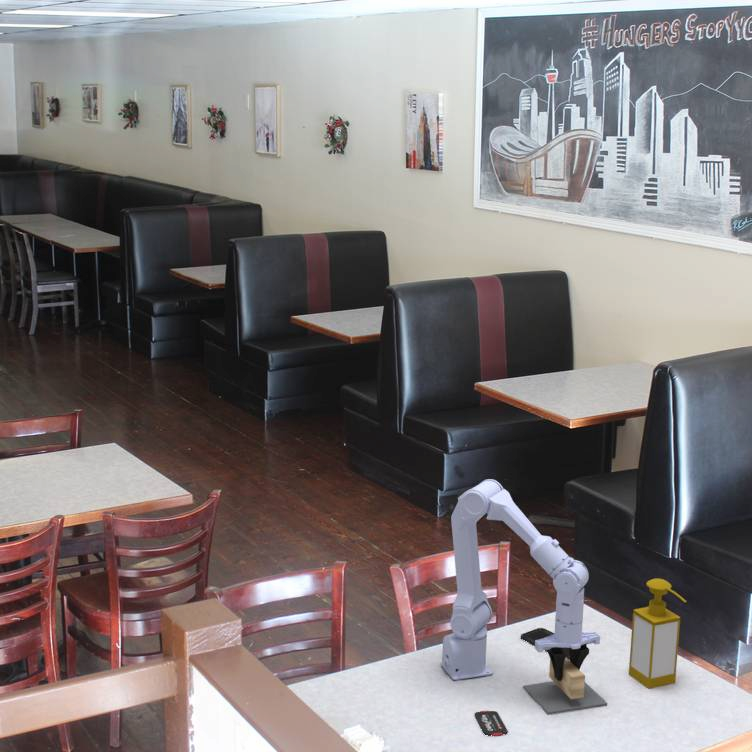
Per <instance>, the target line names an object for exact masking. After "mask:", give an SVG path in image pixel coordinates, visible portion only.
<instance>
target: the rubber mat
mask: <svg viewBox="0 0 752 752" xmlns="http://www.w3.org/2000/svg"><path fill="white" fill-rule="evenodd" d="M523 688H524V689H525V690H526V691H527V692H528V693H529V694H530V695H529V694H528V693H527V692H526V691H525V690H524V689H523ZM522 689H523V690H524V691H525V692H526V693H527V694H528V695H529V696H530V697H531V698H532V697H533V698H532V699H533V701H534V702H535V703H536V702H537V703H538V704H539V705H540V706H541V707H542V708H543V709H542V708H541V707H540V706H539V705H538V704H537V703H536V704H537V705H538V706H539V707H540V708H541V709H542V710H543V711H544V712H545V714H546V715H549V714H550V715H555V714H560V713H561V714H563V713H567V712H573V711H580V710H586V709H593V708H598V707H605V706H608V702H607V701H606V700H605V699H604V698H603V697H601V696H600V694H598V693H597V692H596V690H594V689H593V688H592V686H590V685H589V684H588V683H587V682H586V681H585V684H584V697H582V698H576V699H570V698H569V697H568V696H567V695H566V694H565V693H564V692H563V691H562V690H561V689H560V688H559V687H558V686H557V685H556V684H555V683H554V682H553V681H552V680H551V681H546V682H539V683H538V682H537V683H532V684H525V685H522Z"/></svg>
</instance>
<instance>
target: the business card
mask: <svg viewBox="0 0 752 752" xmlns="http://www.w3.org/2000/svg"><path fill="white" fill-rule="evenodd" d="M473 716H474V717H475V719H476V720H475V721H476V722H477V724H478V726H479V728H480V729H482V730H481V731H482V734H483V733H484V734H485V735H488V736H487V737H493V736H494V737H502V736H506V734H507V733H509V730H508V729H507V727H506V725H505V723H504V721H503V719H502V717H501V716H500V714H499V712H498V711H496V710H481V711H476V712H474V715H473ZM484 734H483V735H484ZM503 734H505V735H503ZM485 735H484V736H485ZM491 735H492V736H491ZM501 735H502V736H501ZM507 735H508V734H507Z"/></svg>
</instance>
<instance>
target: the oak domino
mask: <svg viewBox="0 0 752 752" xmlns="http://www.w3.org/2000/svg"><path fill="white" fill-rule="evenodd" d="M548 678H549V679H551V681H553V682H554V683H555V684H556V685H557V686H558V687H559V688H560V689H561V690H562V691H563V692H564V693H565V694H566V695H567V696H568V697H569V698H570V699H576V698H582V697H584V684H585V682H586V675H585V674H584V673H583V672H582V671H581V669H580V670H579V669H578V668H577V667H576V666H575V665H573V664H572V663H571V662H570V660H568V659H567V658H565V661H564V665H563V677H562V681H558V680H557V679H556V678H555V676H554V670H553V665H552V662H551V659H550V658H549V673H548Z"/></svg>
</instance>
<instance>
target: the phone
mask: <svg viewBox="0 0 752 752" xmlns="http://www.w3.org/2000/svg"><path fill="white" fill-rule="evenodd" d="M554 634H555V632H552V631H550V630H548V629H547V628H544V627H537V628H535V629H532V630H529V631H527V632H524V633H521V634H520V640H522V639H523V640H525V641H527V642H529V643H531V644H532V645H531V644H530V645H531V646H533V645H535V640H540V639H543V638H546V637H548V636H551V635H554ZM523 640H522V641H523ZM525 641H524V642H525ZM527 642H526V643H527ZM529 643H528V644H529ZM562 650H563V653H564V654H565V655H566V658H567V659H568V660H569V661H570V653H569V648H564V647H563V648H562ZM545 651H547V650H545ZM545 651H544V652H545Z"/></svg>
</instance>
